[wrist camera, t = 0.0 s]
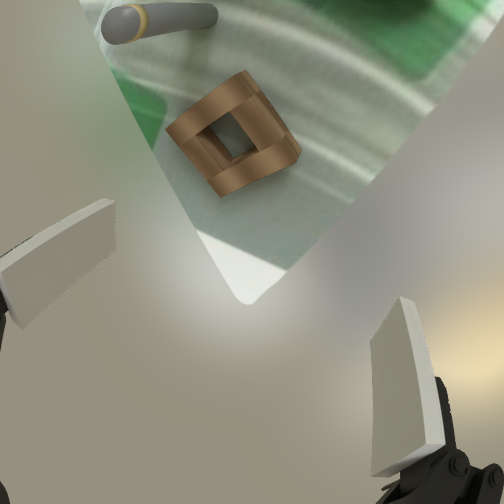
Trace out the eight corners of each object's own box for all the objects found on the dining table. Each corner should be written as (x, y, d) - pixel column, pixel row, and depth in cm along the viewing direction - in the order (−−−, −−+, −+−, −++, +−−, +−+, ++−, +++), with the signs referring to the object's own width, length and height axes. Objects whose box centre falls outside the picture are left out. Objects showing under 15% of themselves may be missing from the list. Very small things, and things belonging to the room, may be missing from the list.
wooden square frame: (245, 69, 30) (233, 75, 27) (301, 149, 36) (295, 162, 33) (179, 119, 38) (164, 129, 35) (230, 183, 44) (220, 197, 41)
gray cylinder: (207, -3, 23) (117, -3, 13) (224, 16, 25) (141, 23, 14) (186, 15, 25) (94, 29, 15) (202, 33, 27) (116, 54, 17)
